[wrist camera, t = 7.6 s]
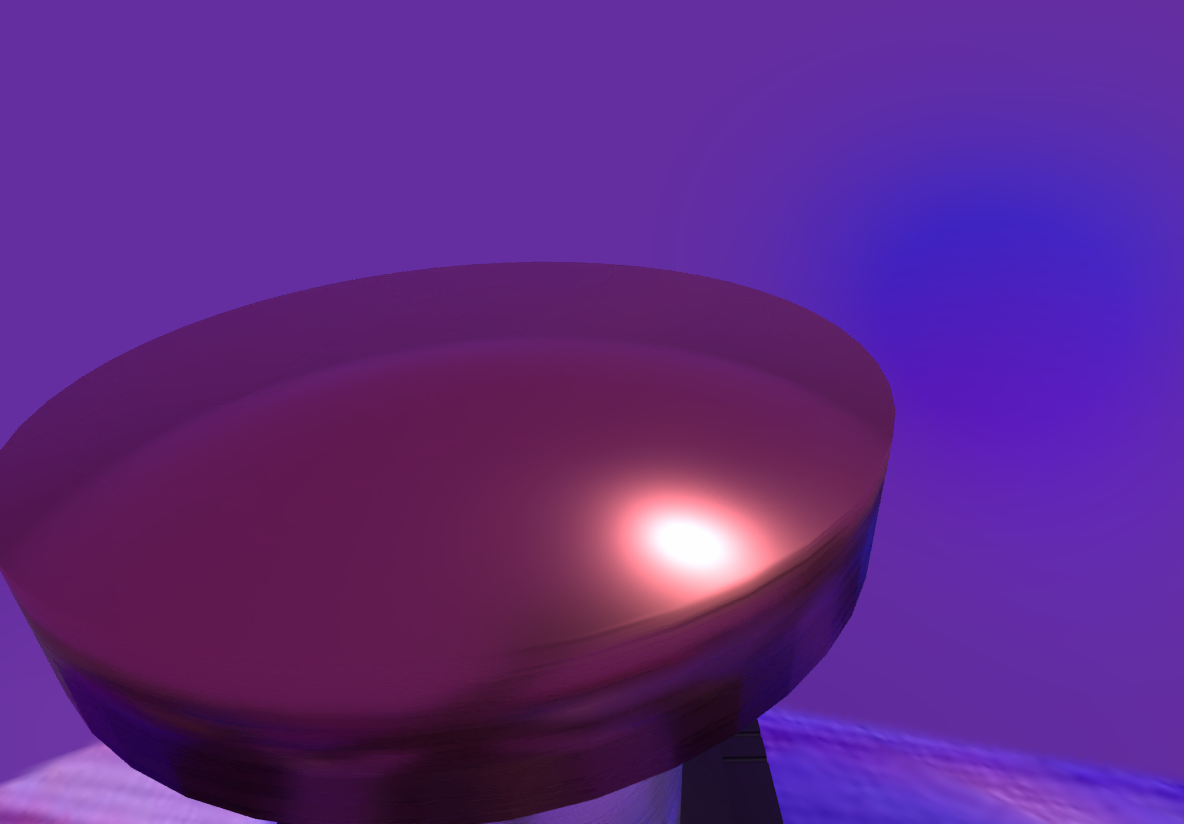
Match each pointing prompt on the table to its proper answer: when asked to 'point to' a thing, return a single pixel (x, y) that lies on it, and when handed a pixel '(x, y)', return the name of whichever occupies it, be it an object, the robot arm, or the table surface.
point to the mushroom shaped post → (450, 539)
